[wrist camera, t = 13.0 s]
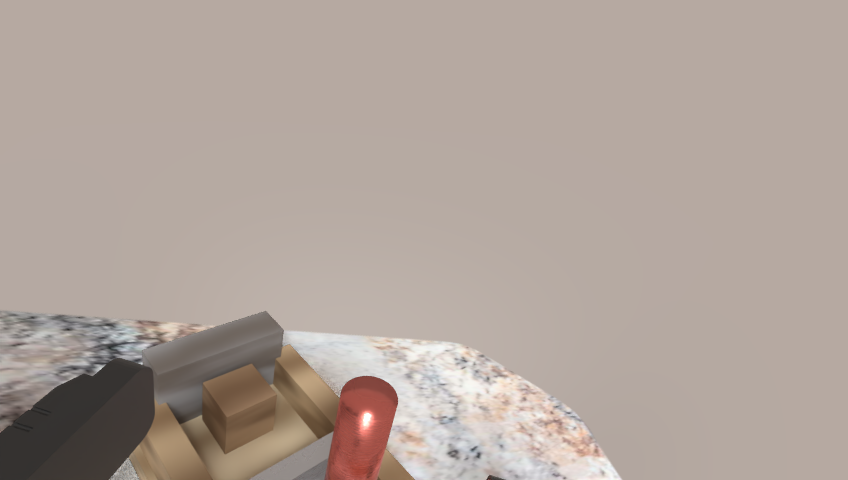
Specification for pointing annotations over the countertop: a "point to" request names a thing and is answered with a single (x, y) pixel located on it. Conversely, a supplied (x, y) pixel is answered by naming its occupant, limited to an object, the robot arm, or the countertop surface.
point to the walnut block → (238, 407)
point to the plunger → (346, 438)
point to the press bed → (217, 355)
